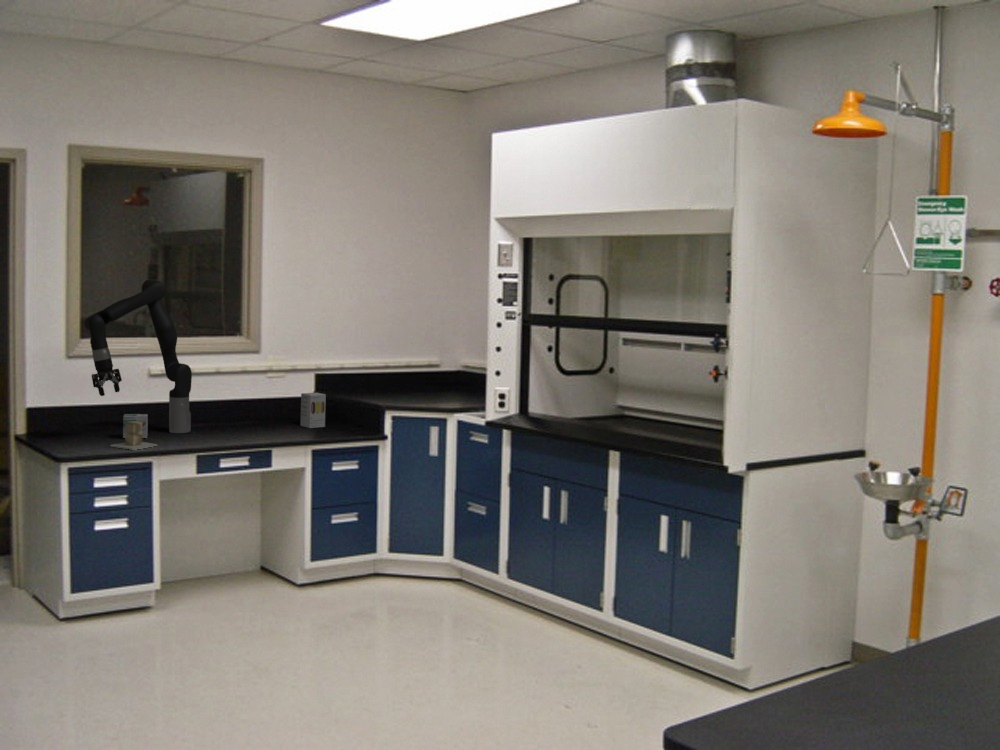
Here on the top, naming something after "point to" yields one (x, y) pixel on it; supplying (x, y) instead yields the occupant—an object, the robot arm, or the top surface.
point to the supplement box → (313, 410)
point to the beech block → (133, 433)
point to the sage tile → (124, 446)
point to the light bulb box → (138, 418)
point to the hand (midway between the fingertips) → (110, 393)
